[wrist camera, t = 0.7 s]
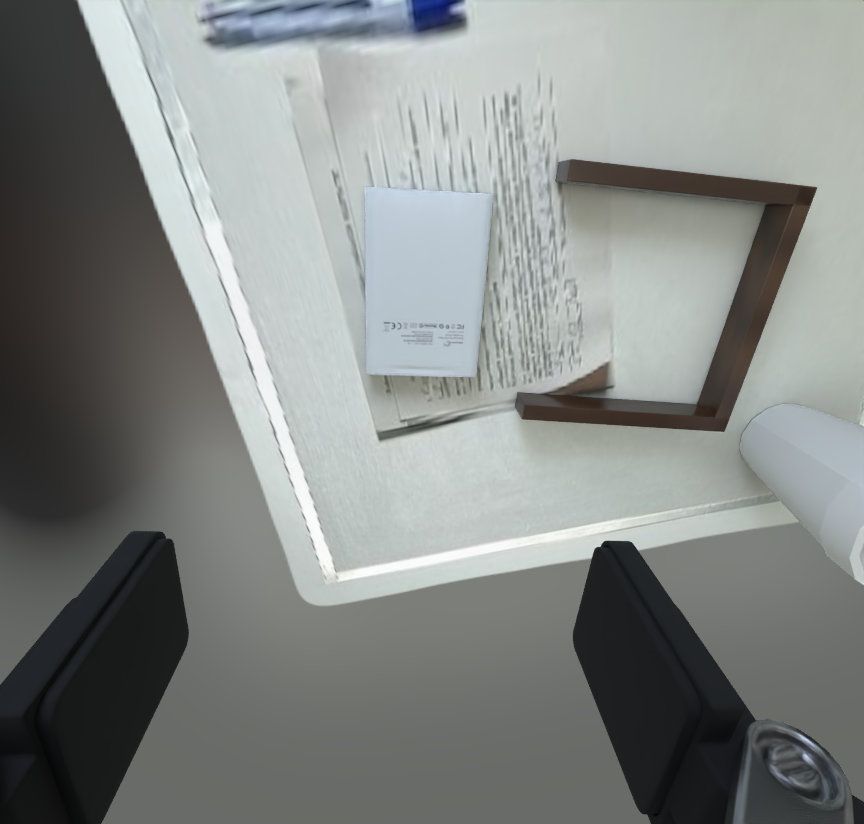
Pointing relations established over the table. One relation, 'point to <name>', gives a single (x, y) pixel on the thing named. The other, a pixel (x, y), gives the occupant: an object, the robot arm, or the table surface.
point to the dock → (745, 315)
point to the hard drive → (425, 280)
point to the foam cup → (814, 475)
